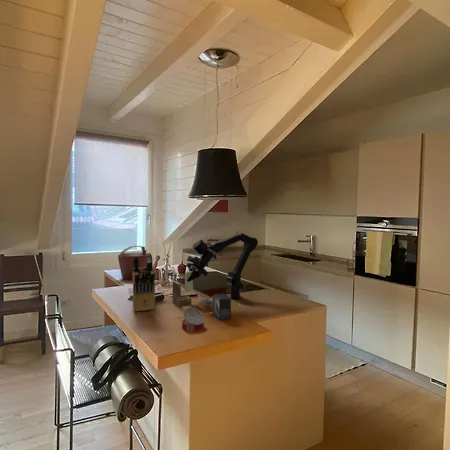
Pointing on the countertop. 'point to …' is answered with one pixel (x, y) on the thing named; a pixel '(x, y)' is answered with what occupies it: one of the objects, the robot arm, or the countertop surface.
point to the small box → (222, 306)
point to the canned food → (192, 320)
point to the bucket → (131, 262)
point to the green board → (188, 284)
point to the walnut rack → (177, 296)
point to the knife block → (143, 285)
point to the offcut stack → (205, 304)
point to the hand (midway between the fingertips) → (186, 280)
